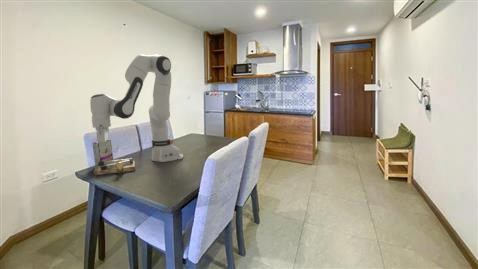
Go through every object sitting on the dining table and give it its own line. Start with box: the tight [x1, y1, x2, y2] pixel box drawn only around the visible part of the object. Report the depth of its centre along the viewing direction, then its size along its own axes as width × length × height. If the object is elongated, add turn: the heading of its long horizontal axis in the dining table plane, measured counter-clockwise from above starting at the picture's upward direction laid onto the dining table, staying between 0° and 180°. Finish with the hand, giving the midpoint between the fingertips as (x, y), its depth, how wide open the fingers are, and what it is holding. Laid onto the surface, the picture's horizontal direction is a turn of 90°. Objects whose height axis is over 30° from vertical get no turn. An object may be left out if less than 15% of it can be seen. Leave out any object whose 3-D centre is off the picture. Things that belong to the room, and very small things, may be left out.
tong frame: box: [98, 157, 134, 166], centre depth 150 cm, size 20×3×3 cm, turn 114°
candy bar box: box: [92, 138, 114, 167], centre depth 155 cm, size 11×5×16 cm, turn 168°
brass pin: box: [116, 162, 124, 176], centre depth 141 cm, size 3×3×7 cm
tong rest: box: [93, 160, 136, 176], centre depth 148 cm, size 22×13×2 cm, turn 114°
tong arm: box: [100, 160, 130, 170], centre depth 145 cm, size 17×2×2 cm, turn 139°
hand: (104, 147), depth 134 cm, fingers open, 5 cm apart
